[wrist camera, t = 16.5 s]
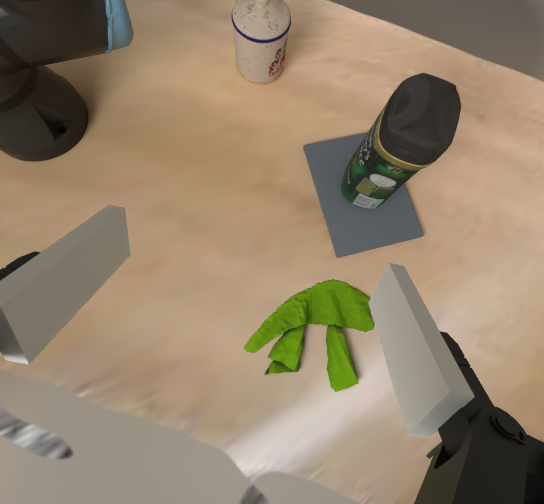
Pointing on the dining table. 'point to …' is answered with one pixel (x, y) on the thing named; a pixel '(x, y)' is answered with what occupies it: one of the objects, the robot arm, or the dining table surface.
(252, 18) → the teacup with lid
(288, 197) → the dining table surface
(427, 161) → the coffee jar
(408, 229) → the mat
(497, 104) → the dining table surface
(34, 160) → the robot arm
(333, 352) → the cloth
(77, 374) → the dining table surface
